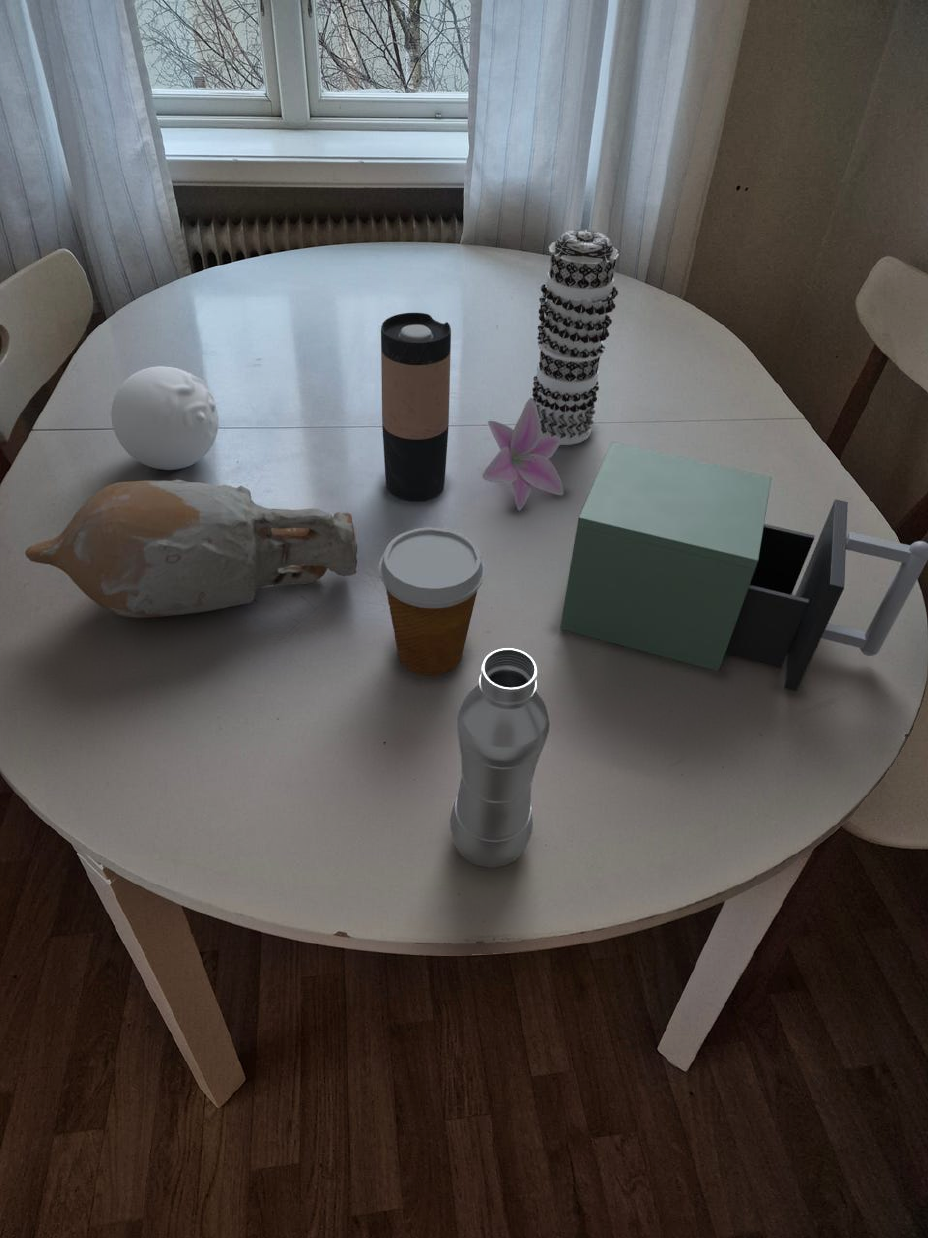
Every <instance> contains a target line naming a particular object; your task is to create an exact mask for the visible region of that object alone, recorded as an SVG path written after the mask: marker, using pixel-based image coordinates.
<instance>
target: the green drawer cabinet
mask: <svg viewBox="0 0 928 1238" xmlns="http://www.w3.org/2000/svg"><path fill="white" fill-rule="evenodd" d="M771 484H772V476H770V475H765V474H761V473H755V472H751V471H747V470H743V469H738V468H733V467H729V466H725V465H719V464H715V463H711V462H706V461H701V460H697V459H692V458H688V457H682V456H678V455H674V454H669V453H665V452H660V451H656V450H652V449H647V448H641V447H637V446H634V445H629V444H623V443H619V442H614V441H611V442H610V444H609V447H608V449H607V451H606V454H605V456H604V458H603V460H602V462H601V465H600V468H599V469H598V472H597V474H596V476H595V479H594V480H593V483H592V486H591V488H590V490H589V493H588V495H587V498H586V500H585V502H584V505H583V507H582V509H581V511H580V514H579V516H578V519H577V526H576V532H575V535H574V536H575V538H574V543H573V549H572V553H571V554H572V555H571V561H570V566H569V572H568V579H567V585H566V591H565V596H564V602H563V609H562V614H561V620H560V621H561V622H560V628H559V629H560V630H563V631H566V632H570V633H573V634H578V635H582V636H584V637H589V638H593V639H596V640H599V641H604V642H606V643H607V642H608V643H611V644H615V645H619V646H623V647H626V648H628V649H629V648H630V649H633V650H637V651H641V652H644V653H648V654H652V655H655V656H659V657H662V658H667V659H671V660H674V661H678V662H681V663H685V664H689V665H693V666H696V667H700V668H703V669H707V670H712V671H715V672H719V671H720V668H721V665H722V664H723V660H724V658H725V655H726V654H725V652H726V649H727V647H728V644H729V641H730V638H731V635H732V633H733V630H734V627H735V624H736V621H737V619H738V616H739V613H740V610H741V608H742V605H743V602H744V599H745V596H746V594H747V591H748V588H749V585H750V582H751V580H752V577H753V574H754V571H755V568H756V566H757V563H758V559H759V553H760V547H761V540H762V534H763V528H764V524H765V521H766V515H767V509H768V502H769V498H770V497H769V496H770V490H771Z"/></svg>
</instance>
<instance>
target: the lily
mask: <svg viewBox="0 0 928 1238" xmlns="http://www.w3.org/2000/svg"><path fill="white" fill-rule="evenodd" d="M532 398H533V397H530V398H529V399H528V400H527V401H526V403H525V405H524V408H523V409H522V411H521V414H520V416H519V418H518V420H517V422H516V424H515V426H514V428H511V427H509V426H508V425H506V424H503V423H501V422H498V421H494V420H487V425H488V428H489V430H490V432H491V434H492V436H493V438H494V440H495V442H496V444H497V446H498V448H499V452H498V453H497V454H496V456H494V458H493V459H492V461H491V462H490V463H489V464H488V466H487V467H486V469H485V470H484V471H483V473H482V477H481V478H482V479H483V480H485V481H488V482H492V483H493V482H494V483H511V487H512V492H513V496H514V501H515V505H516V508H517V510H518V511H521V510H522V509H523V507H524V506H525V504H526V502H527V501H528V499H529V496H530V494H531V491H532V486H533V487H535V488H537V489H539V490H542V491H545V492H547V493H550V494H553V495H557V496H563V495H564V491H565V490H564V487H563V486H564V485H563V483H562V480H561V477H560V475H559V474H558V471H557V469H556V467H555V465H554V464H553V462H552V461H551V460H550V458H552V456H553V455H554V454H555V453H556V451H557V449H558V448H559V446H561V445H560V443H561V439H560V438H558V437H554V436H541V423H540V418H539V414H538V410H537V407H536V404H535V402H534V400H533V399H532Z"/></svg>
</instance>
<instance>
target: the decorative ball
mask: <svg viewBox="0 0 928 1238" xmlns="http://www.w3.org/2000/svg"><path fill="white" fill-rule="evenodd" d="M110 417H111V418H110V419H111V424H112V425H111V426H112V428H113V432H114V434H115V437H116V438H117V441H118V442H119V444H120V446H121V447H122V448H123V449H124V451H125V452H126V453H127V454H128V455H129V456H131V458H133V459H134V460H136V461H137V462H139V463H141V464H142V465H145V466H147V467H149V468H153V469H157V470H163V471H174V470H180V469H185V468H187V467H190V466H192V465H194V464H196V463H197V462H199V461H200V460H201V459H203V458H204V457H205V456H206V455H207V454H208V452H209V451H210V450H211V449H212V447H213V445H214V443H215V441H216V438H217V435H218V430H219V424H220V423H219V421H220V420H219V414H218V409H217V405H216V402H215V399H214V396H213V395H212V393H211V392H210V391H209V390H208V387H207V385H206V383H205V382H204V380H203V379H201V378H200V377H198V376H195V375H194V374H193V373H190V372H189V371H186V370H183V369H181V368H179V367H178V368H177V367H173V366H164V365H159V366H150V367H146V368H143V369H140V370H138V371H136V372H134V373H133V374H131V375H129V376H128V377H127V378H126V379H125V380H124V381H123V382H122V383H121V385H120V386H119V387H118V389H117V390H116V393H115V395H114V397H113V399H112V404H111V413H110Z"/></svg>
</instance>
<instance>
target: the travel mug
mask: <svg viewBox="0 0 928 1238" xmlns="http://www.w3.org/2000/svg"><path fill="white" fill-rule="evenodd" d="M451 344H452V329H451V325H450V323H449V322H448V321H445V323H444V322H443V323H442V322H439V321H437V320H435V319H434V318H433V317H432V316H431V315H430V314H429V313H424V312H405V313H398V314H394V315H392V316H390V317H388V318H386V319H385V320H384V321H383V322H382V324H381V326H380V362H381V363H380V364H381V367H380V368H381V370H380V371H381V372H380V373H381V374H380V375H381V377H380V378H381V427H382V443H383V444H382V445H383V461H384V463H383V464H384V478H385V487H386V489H387V491H388V493H390V494H391V495H392V496H393V497H395V498H397V499H398V500H399V499H400V500H403V501H406V502H426V501H430V500H432V499H435V498H437V497H438V496H439V495H440V494H441V493H442V492H443V490H444V488H445V481H446V469H447V457H448V455H447V454H448V441H449V427H450V425H449V424H450V394H451V393H450V389H451V385H450V384H451V353H452V352H451V351H452V349H451V347H452V346H451Z"/></svg>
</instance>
